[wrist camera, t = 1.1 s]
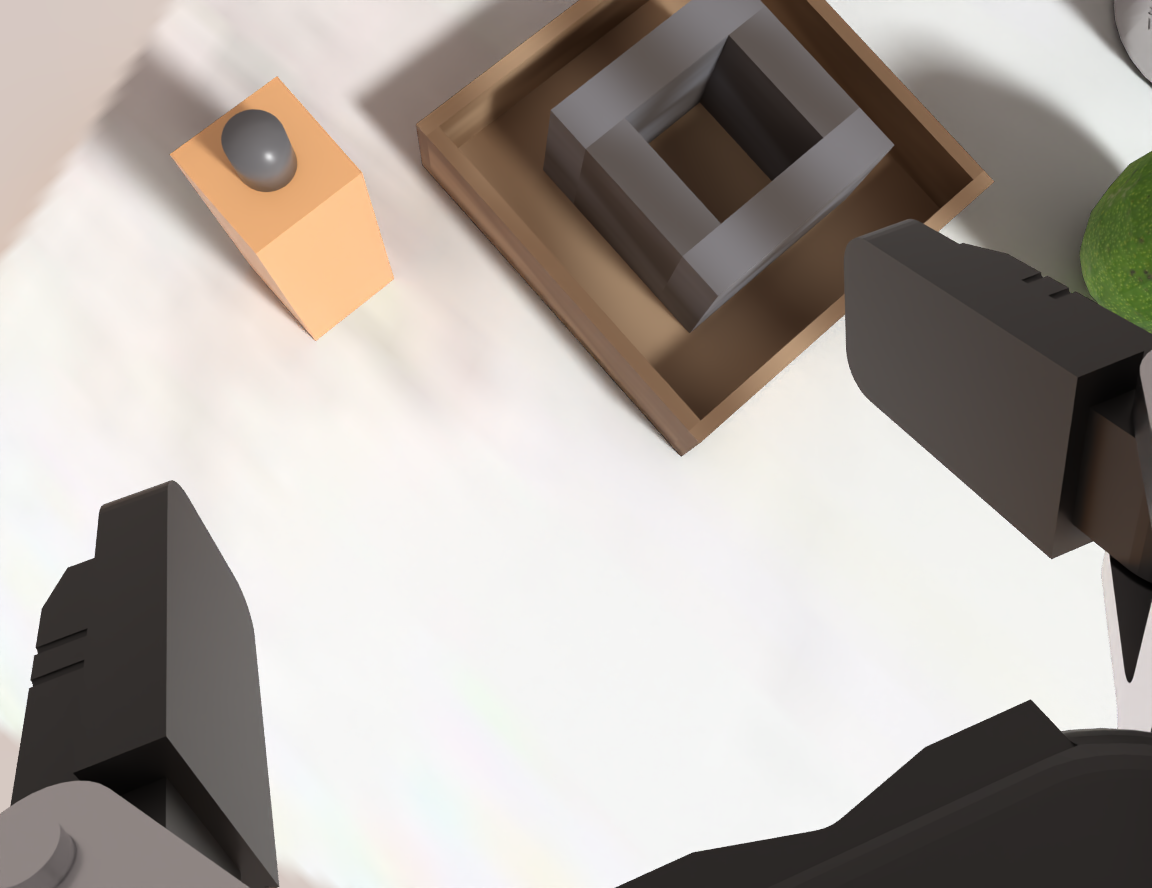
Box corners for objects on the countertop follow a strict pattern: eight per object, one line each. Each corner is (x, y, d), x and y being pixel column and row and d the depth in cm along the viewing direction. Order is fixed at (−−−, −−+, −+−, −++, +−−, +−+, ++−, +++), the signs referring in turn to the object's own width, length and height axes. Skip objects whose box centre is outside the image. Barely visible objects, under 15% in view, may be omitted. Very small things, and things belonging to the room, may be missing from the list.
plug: (330, 205, 39) (265, 47, 28) (394, 278, 39) (354, 148, 28) (251, 266, 39) (151, 128, 27) (315, 341, 39) (242, 233, 27)
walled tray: (704, -53, 43) (736, -149, 37) (952, 215, 42) (1023, 158, 36) (422, 164, 40) (411, 95, 34) (681, 456, 39) (712, 433, 34)
